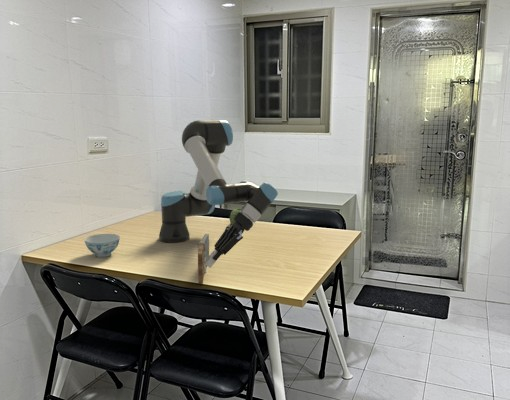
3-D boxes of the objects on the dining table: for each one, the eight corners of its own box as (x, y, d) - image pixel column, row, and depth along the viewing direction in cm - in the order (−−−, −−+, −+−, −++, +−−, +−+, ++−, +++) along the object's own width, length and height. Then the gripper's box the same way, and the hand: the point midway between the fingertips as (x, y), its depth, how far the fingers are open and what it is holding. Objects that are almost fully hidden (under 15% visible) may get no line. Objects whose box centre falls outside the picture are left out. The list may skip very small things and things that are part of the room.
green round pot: (236, 220, 273) (236, 206, 272) (256, 222, 268) (256, 208, 266) (222, 226, 259) (222, 211, 258) (243, 229, 253) (243, 213, 252)
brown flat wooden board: (198, 269, 188) (198, 241, 186) (206, 269, 189) (205, 241, 186) (196, 283, 173) (195, 253, 171) (204, 283, 174) (204, 253, 171)
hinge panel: (203, 260, 201) (203, 233, 198) (210, 261, 201) (210, 233, 198) (198, 273, 186) (197, 244, 183) (205, 273, 186) (204, 244, 183)
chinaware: (84, 252, 213) (83, 235, 212) (118, 248, 219) (117, 232, 218) (86, 261, 200) (85, 244, 198) (123, 257, 206) (122, 240, 204)
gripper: (260, 227, 176) (219, 276, 173) (246, 219, 188) (208, 265, 185) (246, 215, 173) (205, 264, 170) (233, 208, 185) (194, 254, 182)
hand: (206, 265), depth 177 cm, fingers closed
